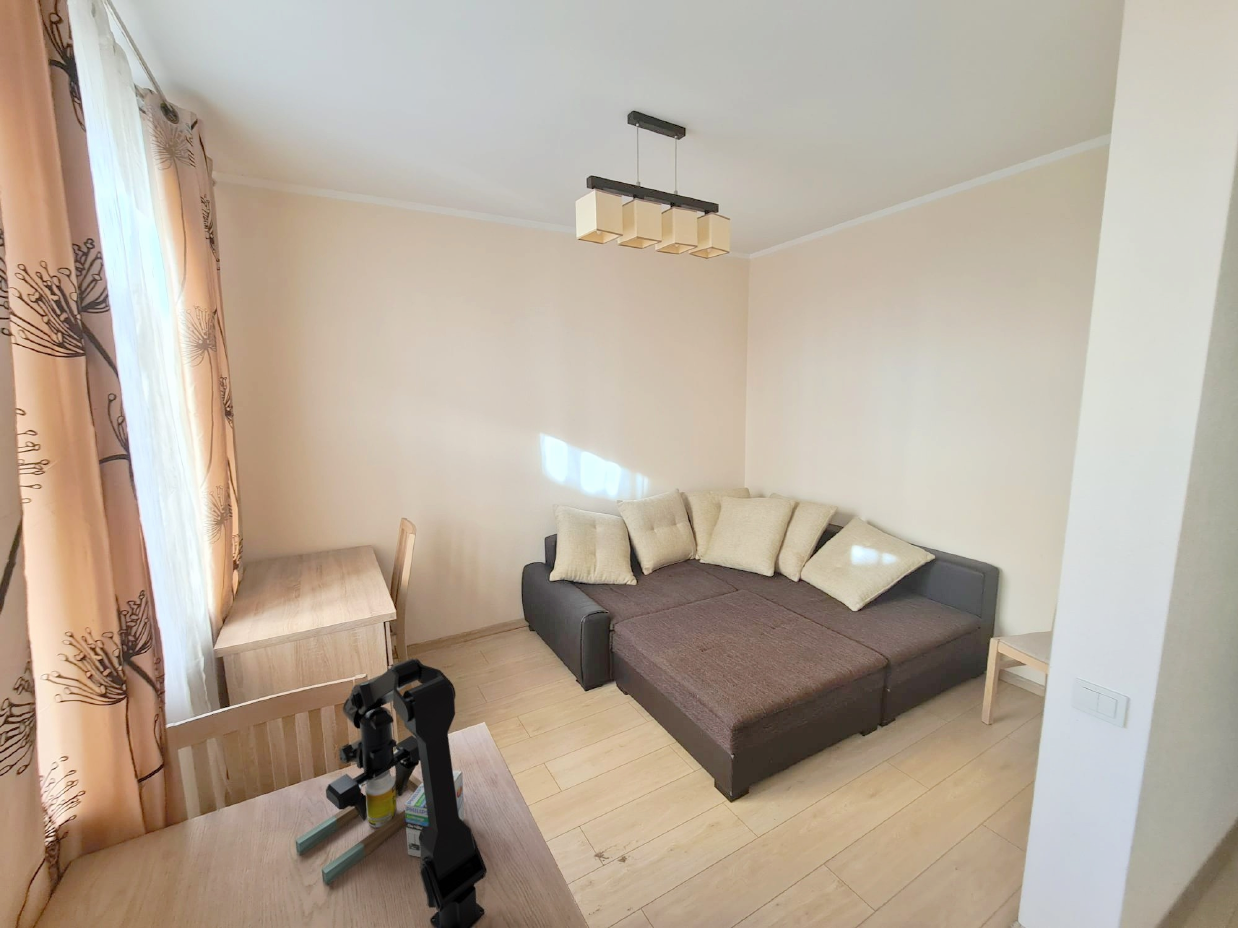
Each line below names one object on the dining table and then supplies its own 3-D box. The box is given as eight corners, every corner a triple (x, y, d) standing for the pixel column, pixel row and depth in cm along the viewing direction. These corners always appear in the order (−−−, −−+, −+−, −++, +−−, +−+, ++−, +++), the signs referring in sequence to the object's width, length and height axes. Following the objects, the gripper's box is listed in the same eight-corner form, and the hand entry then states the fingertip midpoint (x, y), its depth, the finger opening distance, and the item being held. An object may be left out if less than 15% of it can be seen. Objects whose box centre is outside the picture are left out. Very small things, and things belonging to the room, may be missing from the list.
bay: (437, 803, 111) (437, 792, 111) (326, 885, 93) (325, 872, 92) (405, 779, 118) (405, 769, 118) (296, 851, 99) (295, 839, 99)
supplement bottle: (398, 821, 106) (395, 776, 105) (368, 833, 104) (365, 787, 102) (395, 803, 111) (392, 759, 110) (366, 813, 108) (363, 769, 107)
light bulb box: (438, 862, 97) (435, 810, 96) (406, 855, 98) (402, 805, 97) (465, 816, 108) (463, 769, 106) (436, 811, 109) (433, 765, 107)
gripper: (397, 701, 117) (401, 764, 119) (309, 747, 102) (316, 817, 104) (426, 719, 111) (430, 785, 113) (337, 770, 96) (343, 845, 98)
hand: (381, 806), depth 107 cm, fingers closed on supplement bottle, 7 cm apart
